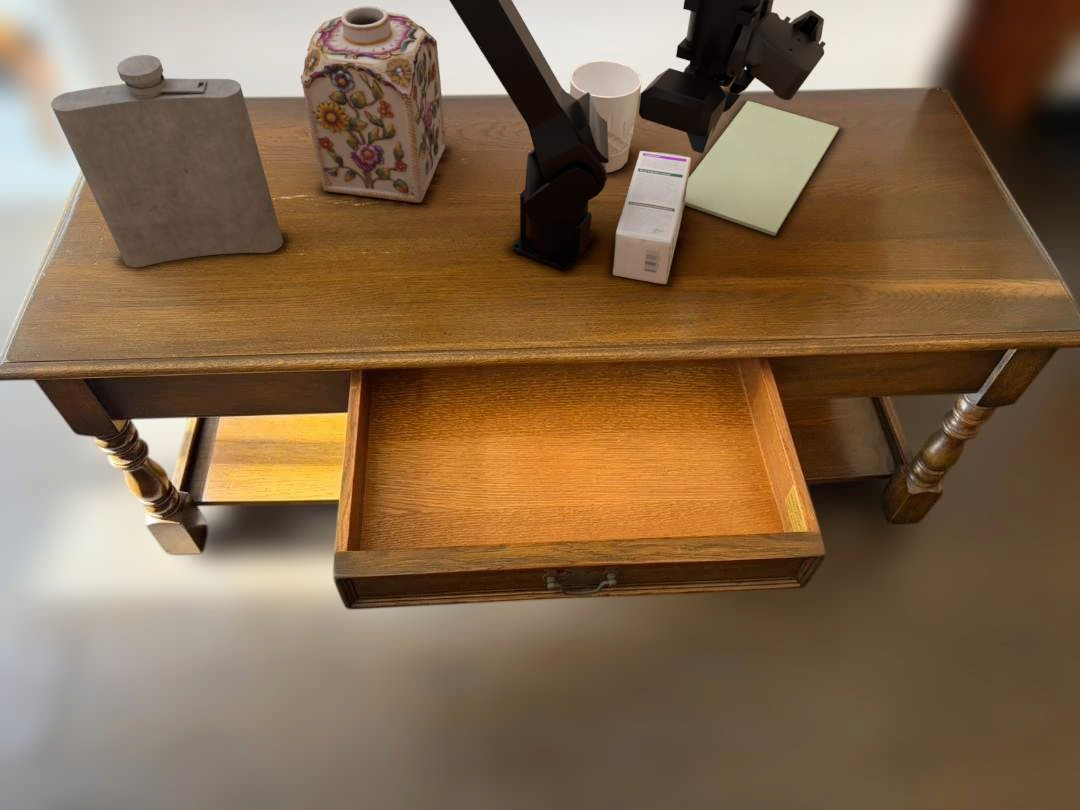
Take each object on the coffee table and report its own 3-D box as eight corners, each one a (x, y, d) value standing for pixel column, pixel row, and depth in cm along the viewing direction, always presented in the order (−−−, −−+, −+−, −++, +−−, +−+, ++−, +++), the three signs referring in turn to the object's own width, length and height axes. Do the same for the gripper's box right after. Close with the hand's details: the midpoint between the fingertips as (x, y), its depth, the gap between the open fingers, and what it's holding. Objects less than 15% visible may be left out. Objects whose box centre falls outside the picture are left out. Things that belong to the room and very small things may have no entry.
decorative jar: (422, 206, 92) (405, 49, 78) (321, 194, 93) (286, 36, 79) (448, 146, 100) (436, -7, 86) (354, 135, 101) (328, -18, 87)
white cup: (614, 184, 95) (622, 104, 88) (554, 163, 98) (557, 84, 90) (643, 151, 100) (653, 72, 92) (585, 131, 102) (590, 53, 95)
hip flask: (122, 269, 84) (34, 84, 69) (126, 244, 87) (43, 60, 72) (283, 251, 87) (232, 68, 71) (282, 227, 89) (233, 45, 74)
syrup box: (672, 242, 80) (695, 155, 89) (612, 232, 81) (640, 147, 90) (666, 286, 84) (688, 199, 93) (609, 276, 85) (636, 191, 94)
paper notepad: (672, 201, 94) (673, 197, 93) (747, 103, 107) (748, 100, 107) (774, 236, 90) (775, 232, 90) (838, 130, 104) (839, 127, 103)
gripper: (789, 56, 59) (743, 231, 71) (862, -38, 70) (811, 128, 82) (647, 17, 63) (626, 190, 75) (737, -67, 73) (706, 97, 85)
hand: (699, 150), depth 79 cm, fingers closed
